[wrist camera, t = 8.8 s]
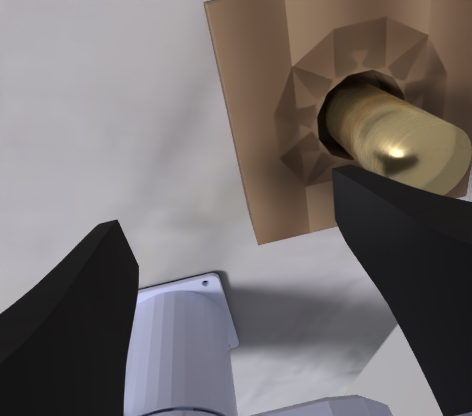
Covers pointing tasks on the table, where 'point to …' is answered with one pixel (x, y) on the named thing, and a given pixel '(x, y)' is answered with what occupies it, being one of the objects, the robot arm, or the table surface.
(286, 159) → the socket block
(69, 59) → the table surface
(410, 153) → the brass peg
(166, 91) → the table surface
